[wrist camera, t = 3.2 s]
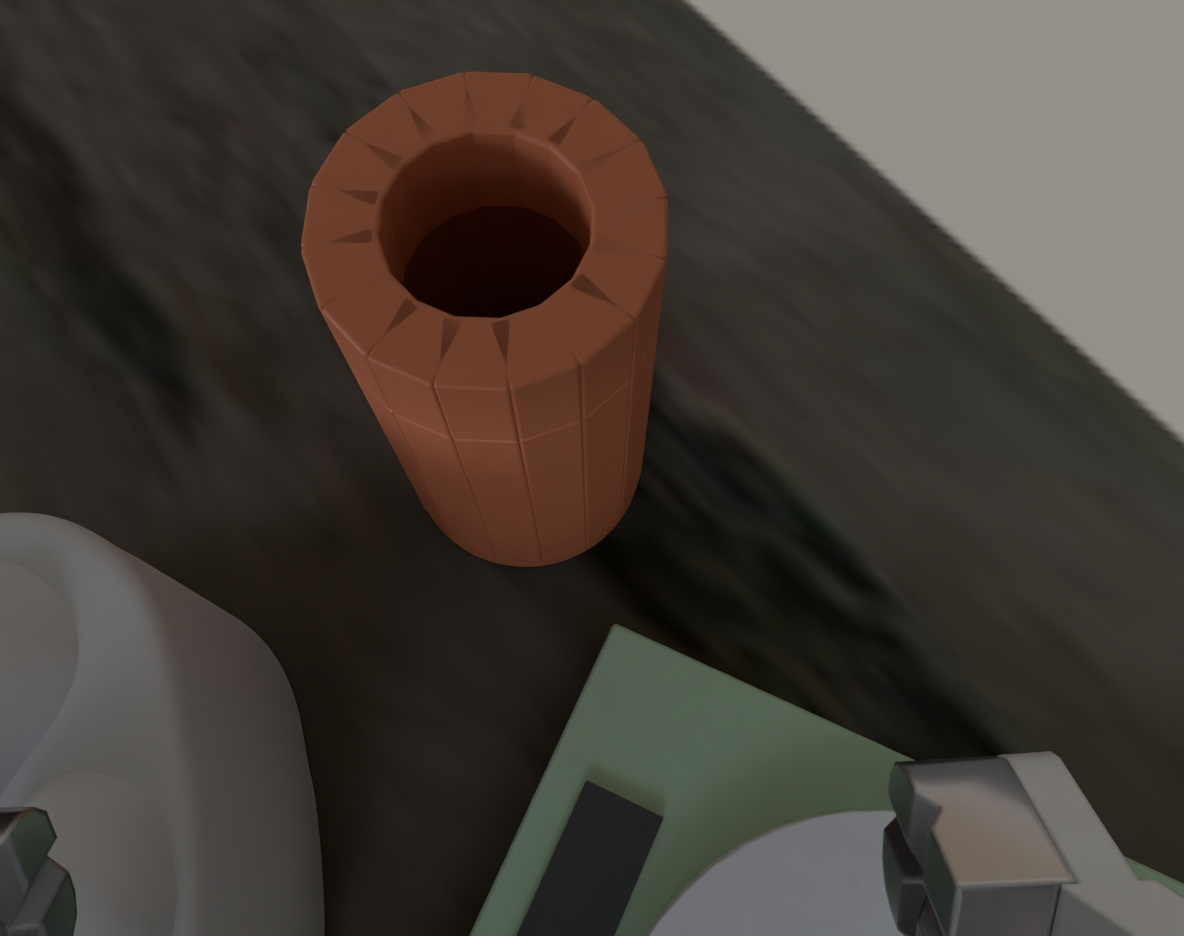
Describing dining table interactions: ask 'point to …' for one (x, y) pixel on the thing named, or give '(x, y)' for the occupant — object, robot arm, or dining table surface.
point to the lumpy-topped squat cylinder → (152, 744)
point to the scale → (700, 814)
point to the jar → (498, 303)
